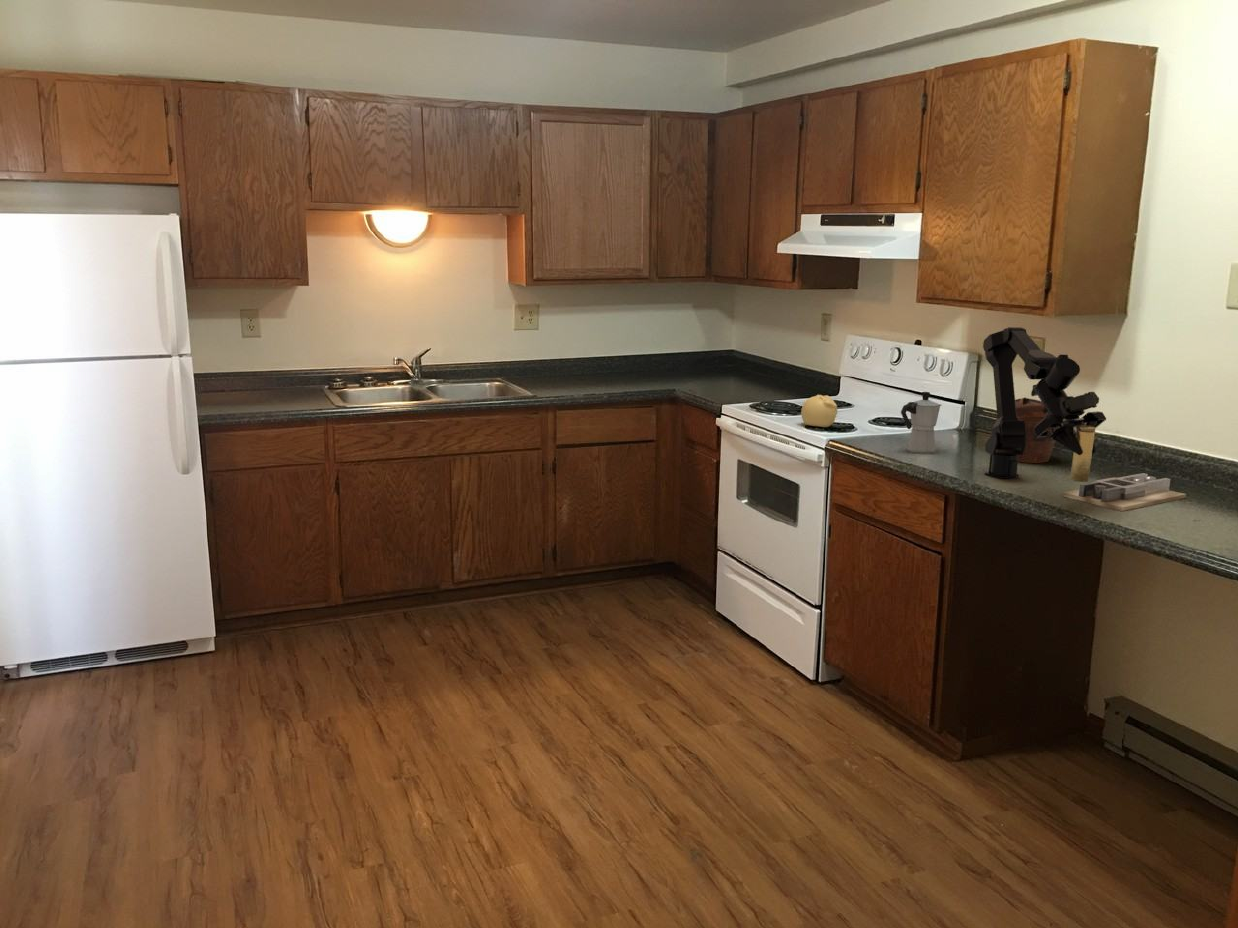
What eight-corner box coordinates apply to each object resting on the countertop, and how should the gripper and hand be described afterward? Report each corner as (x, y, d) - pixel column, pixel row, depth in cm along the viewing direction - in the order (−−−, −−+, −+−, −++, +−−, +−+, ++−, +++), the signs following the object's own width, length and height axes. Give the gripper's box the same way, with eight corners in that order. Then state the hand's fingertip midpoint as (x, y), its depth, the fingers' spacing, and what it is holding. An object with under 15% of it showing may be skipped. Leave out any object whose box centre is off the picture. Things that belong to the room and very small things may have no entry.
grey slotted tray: (1076, 495, 249) (1077, 483, 248) (1139, 483, 262) (1141, 472, 262) (1107, 503, 241) (1109, 491, 241) (1171, 490, 255) (1172, 479, 255)
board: (1061, 496, 252) (1062, 492, 252) (1125, 484, 266) (1126, 480, 265) (1121, 511, 238) (1122, 507, 238) (1185, 497, 252) (1186, 494, 252)
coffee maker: (928, 446, 310) (933, 388, 306) (947, 452, 302) (953, 393, 298) (888, 449, 304) (893, 390, 300) (907, 455, 297) (912, 395, 293)
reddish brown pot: (1018, 448, 309) (1024, 391, 305) (1074, 462, 292) (1081, 401, 287) (977, 454, 301) (982, 395, 296) (1032, 468, 283) (1039, 406, 279)
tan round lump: (840, 429, 336) (842, 397, 333) (804, 429, 335) (806, 397, 333) (831, 423, 347) (833, 392, 345) (797, 422, 347) (799, 391, 344)
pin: (1066, 478, 242) (1072, 425, 239) (1076, 477, 244) (1083, 424, 241) (1081, 482, 238) (1088, 429, 235) (1092, 480, 240) (1099, 427, 237)
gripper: (1049, 382, 235) (1083, 437, 228) (1104, 378, 243) (1138, 431, 236) (1019, 409, 244) (1051, 463, 236) (1073, 405, 252) (1105, 457, 245)
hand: (1087, 453), depth 238 cm, fingers closed on pin, 4 cm apart
